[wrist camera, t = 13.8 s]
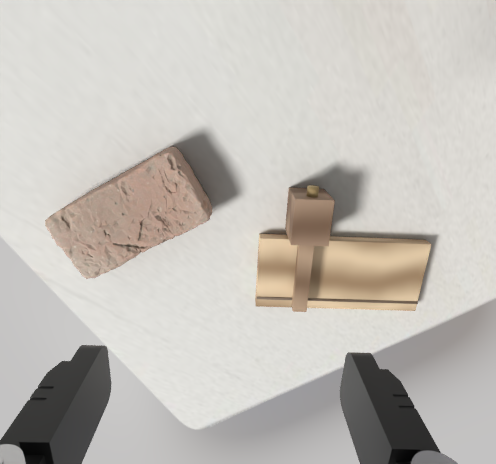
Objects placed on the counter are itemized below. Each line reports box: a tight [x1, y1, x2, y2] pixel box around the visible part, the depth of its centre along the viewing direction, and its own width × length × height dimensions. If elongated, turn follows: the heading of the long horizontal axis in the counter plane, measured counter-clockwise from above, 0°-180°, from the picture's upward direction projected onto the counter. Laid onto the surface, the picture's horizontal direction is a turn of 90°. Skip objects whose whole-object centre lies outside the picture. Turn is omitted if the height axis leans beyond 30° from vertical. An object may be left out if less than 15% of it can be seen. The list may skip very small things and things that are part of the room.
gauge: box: [285, 185, 335, 312], centre depth 41 cm, size 15×4×5 cm, turn 177°
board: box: [255, 234, 431, 311], centre depth 44 cm, size 9×20×2 cm, turn 87°
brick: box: [45, 147, 212, 279], centre depth 39 cm, size 16×8×5 cm, turn 118°
